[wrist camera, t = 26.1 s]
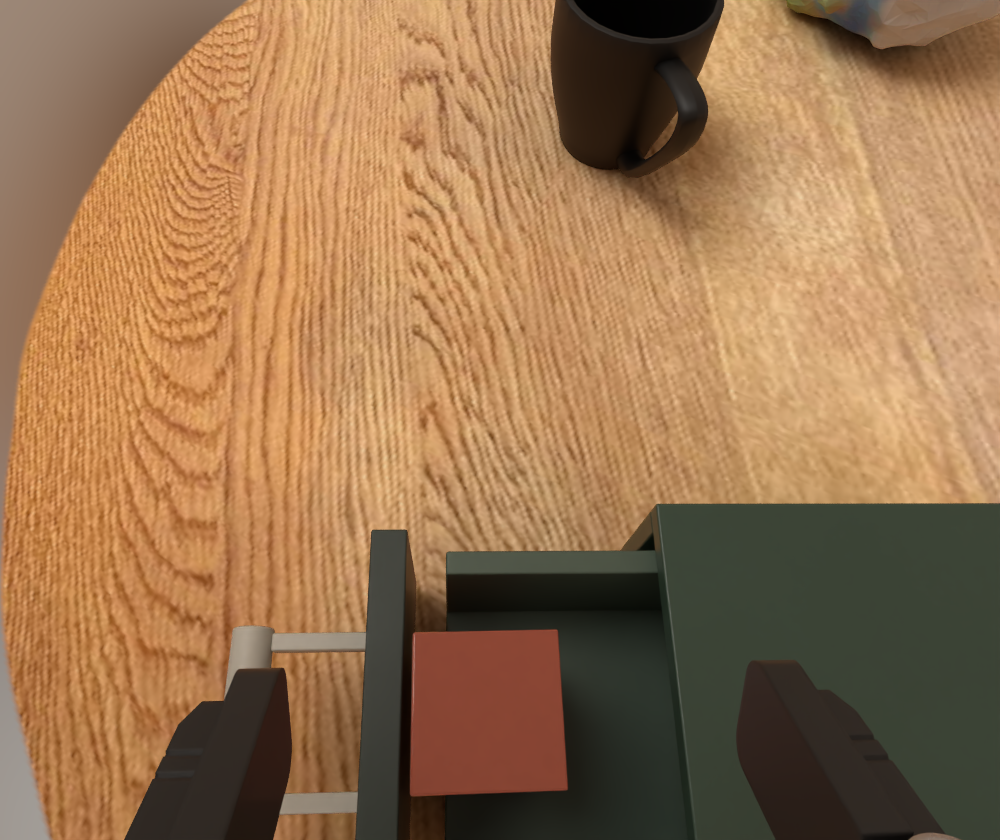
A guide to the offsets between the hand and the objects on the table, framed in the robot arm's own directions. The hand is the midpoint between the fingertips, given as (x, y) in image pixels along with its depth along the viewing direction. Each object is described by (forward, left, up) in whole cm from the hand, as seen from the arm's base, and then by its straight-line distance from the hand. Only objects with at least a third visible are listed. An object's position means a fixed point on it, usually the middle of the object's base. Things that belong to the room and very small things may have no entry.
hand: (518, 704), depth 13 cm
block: (0, 0, -17) cm, 17 cm away
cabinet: (+10, -9, -19) cm, 24 cm away
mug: (+29, +16, -19) cm, 38 cm away
